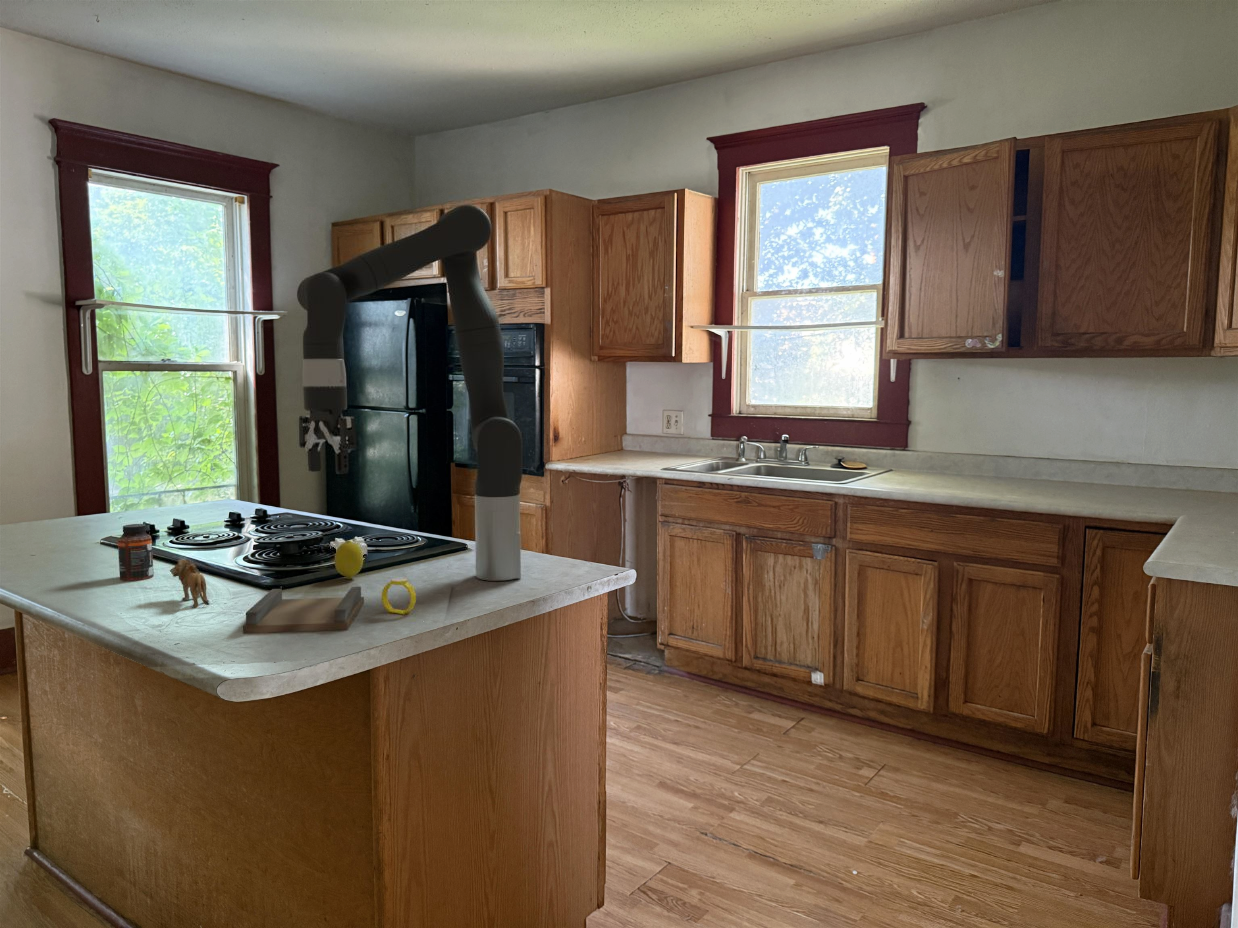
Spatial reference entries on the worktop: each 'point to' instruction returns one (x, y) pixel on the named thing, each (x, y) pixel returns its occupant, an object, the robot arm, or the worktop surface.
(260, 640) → the worktop surface
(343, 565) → the lemon
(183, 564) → the lion figurine
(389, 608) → the watch
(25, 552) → the worktop surface
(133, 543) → the supplement bottle
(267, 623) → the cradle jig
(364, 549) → the modular blocks
